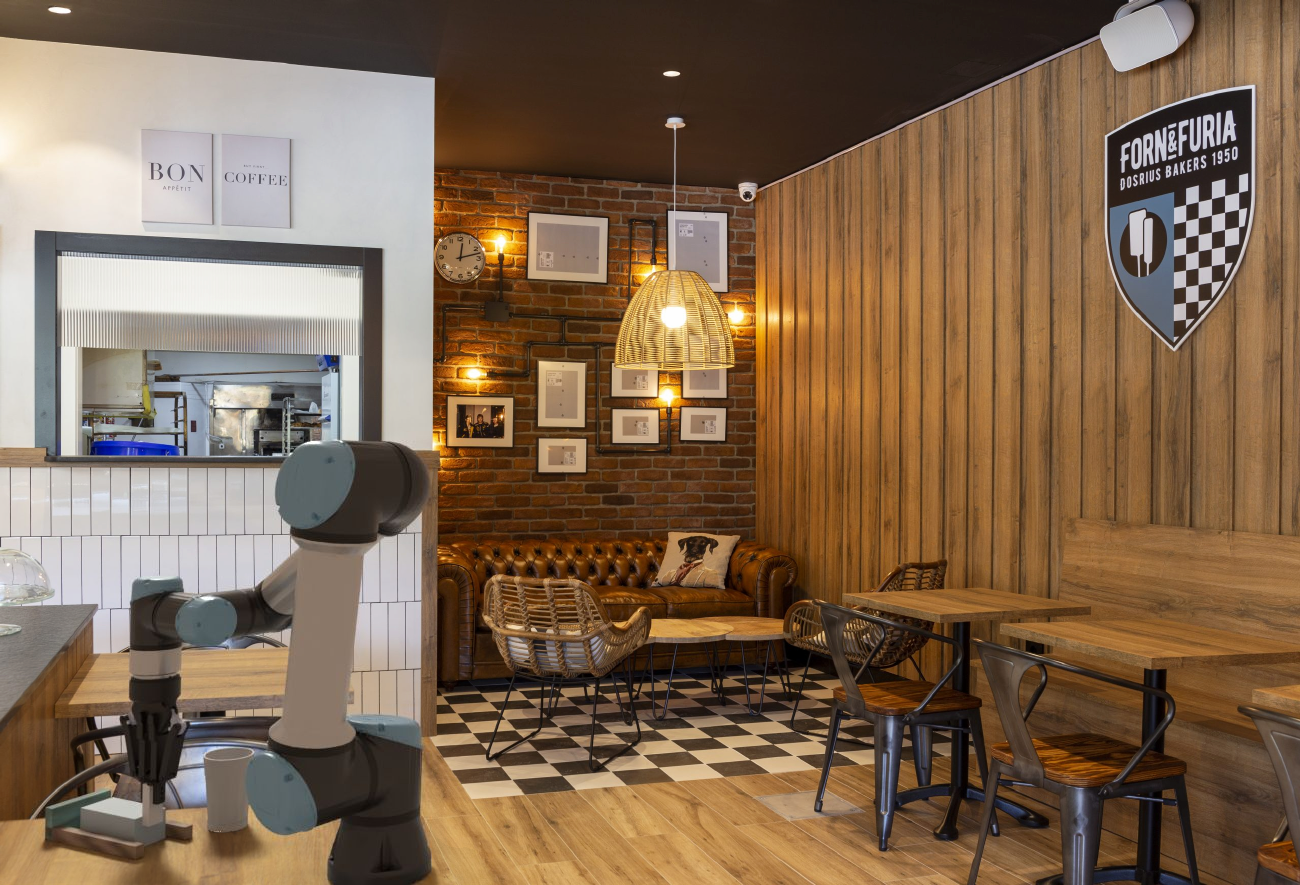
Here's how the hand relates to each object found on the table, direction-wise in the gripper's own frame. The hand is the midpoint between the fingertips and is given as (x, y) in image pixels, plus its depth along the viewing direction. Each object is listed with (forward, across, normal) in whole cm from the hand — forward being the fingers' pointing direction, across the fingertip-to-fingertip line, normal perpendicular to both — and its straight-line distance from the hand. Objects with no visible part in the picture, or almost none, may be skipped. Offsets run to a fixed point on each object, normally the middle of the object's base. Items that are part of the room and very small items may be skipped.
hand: (152, 823), depth 172 cm
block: (+4, +7, 0) cm, 8 cm away
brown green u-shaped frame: (+3, +7, 0) cm, 8 cm away
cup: (+4, -4, -12) cm, 13 cm away
